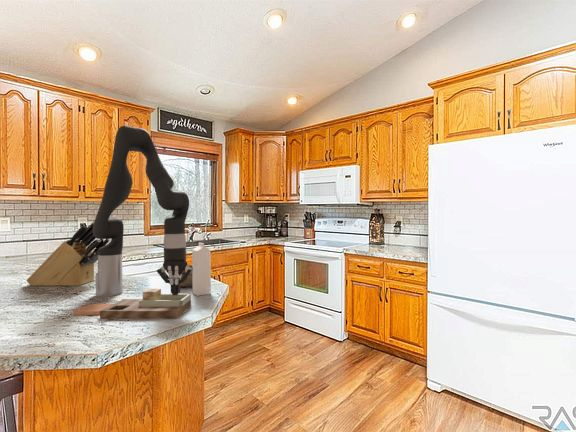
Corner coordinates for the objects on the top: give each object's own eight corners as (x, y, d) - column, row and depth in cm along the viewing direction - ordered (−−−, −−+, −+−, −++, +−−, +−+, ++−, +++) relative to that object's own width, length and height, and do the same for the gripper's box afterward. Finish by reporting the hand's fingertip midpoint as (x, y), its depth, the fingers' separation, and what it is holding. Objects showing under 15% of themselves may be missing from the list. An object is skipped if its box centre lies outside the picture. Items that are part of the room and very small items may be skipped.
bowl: (160, 286, 146) (160, 265, 146) (184, 281, 158) (184, 261, 158) (187, 291, 137) (187, 268, 137) (210, 285, 149) (209, 264, 149)
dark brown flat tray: (100, 318, 102) (99, 310, 102) (123, 305, 116) (123, 299, 116) (176, 318, 101) (176, 311, 101) (190, 305, 115) (190, 299, 115)
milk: (197, 296, 129) (196, 243, 129) (192, 293, 134) (191, 242, 134) (211, 293, 133) (210, 242, 132) (205, 290, 138) (205, 241, 137)
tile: (73, 314, 106) (73, 311, 106) (90, 306, 115) (90, 303, 115) (99, 314, 105) (99, 311, 105) (114, 306, 114) (114, 303, 114)
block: (142, 304, 109) (142, 291, 109) (148, 300, 113) (148, 288, 113) (155, 304, 109) (155, 291, 109) (161, 300, 113) (160, 288, 113)
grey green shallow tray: (138, 306, 106) (138, 300, 106) (151, 299, 116) (151, 293, 116) (181, 306, 106) (181, 300, 106) (190, 299, 115) (190, 293, 115)
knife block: (98, 286, 147) (97, 221, 147) (25, 286, 148) (24, 222, 147) (112, 281, 158) (111, 221, 158) (44, 281, 159) (44, 221, 159)
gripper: (151, 247, 107) (152, 297, 107) (189, 247, 106) (190, 297, 107) (161, 245, 114) (161, 292, 114) (196, 245, 114) (197, 292, 114)
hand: (175, 294), depth 110 cm, fingers closed
